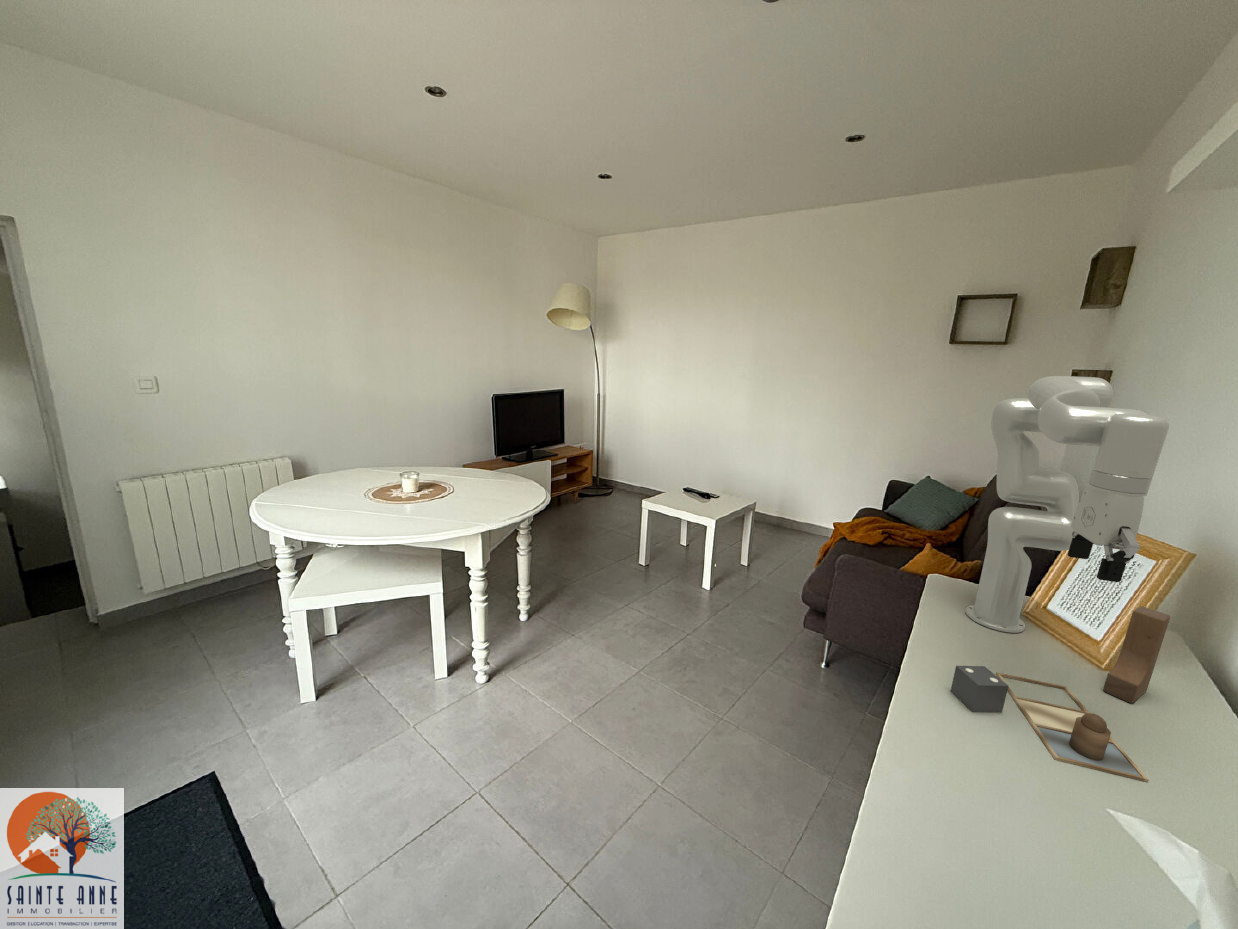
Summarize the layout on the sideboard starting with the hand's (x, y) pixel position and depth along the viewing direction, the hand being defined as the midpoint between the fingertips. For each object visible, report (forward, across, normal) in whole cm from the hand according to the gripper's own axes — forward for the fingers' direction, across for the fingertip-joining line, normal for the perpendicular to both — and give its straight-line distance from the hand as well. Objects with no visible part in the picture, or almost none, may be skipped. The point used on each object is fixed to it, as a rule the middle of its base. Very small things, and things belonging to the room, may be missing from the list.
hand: (1092, 568), depth 90 cm
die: (+29, +7, -16) cm, 34 cm away
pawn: (+28, +15, -2) cm, 32 cm away
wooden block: (+30, -9, +16) cm, 35 cm away
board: (+29, +7, -2) cm, 30 cm away
